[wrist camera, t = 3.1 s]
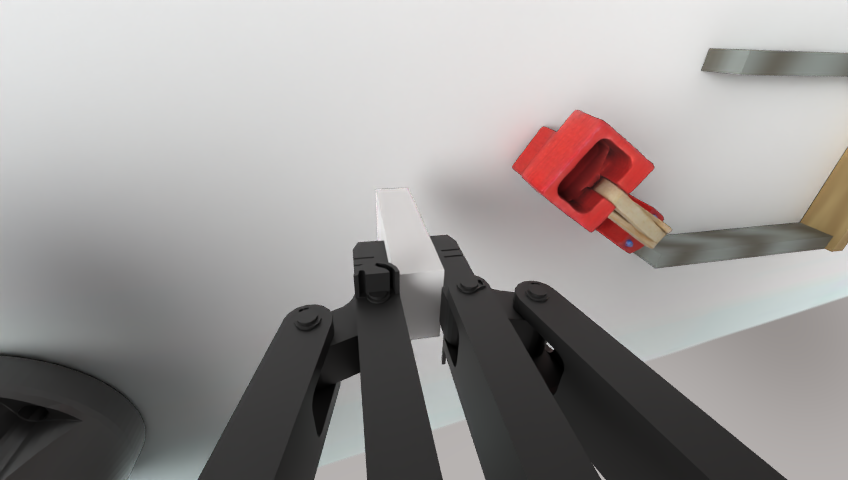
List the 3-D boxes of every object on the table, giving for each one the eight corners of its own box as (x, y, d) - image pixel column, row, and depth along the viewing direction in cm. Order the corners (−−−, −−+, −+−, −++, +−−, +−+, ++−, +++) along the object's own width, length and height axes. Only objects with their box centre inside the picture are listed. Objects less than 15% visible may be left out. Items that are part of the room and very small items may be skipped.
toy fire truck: (597, 232, 27) (710, 320, 19) (462, 133, 21) (546, 200, 13) (629, 197, 26) (765, 274, 18) (499, 82, 20) (615, 119, 12)
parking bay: (631, 250, 29) (660, 272, 26) (709, 48, 21) (760, 50, 19) (802, 233, 32) (842, 250, 30) (918, 55, 25) (983, 58, 23)
